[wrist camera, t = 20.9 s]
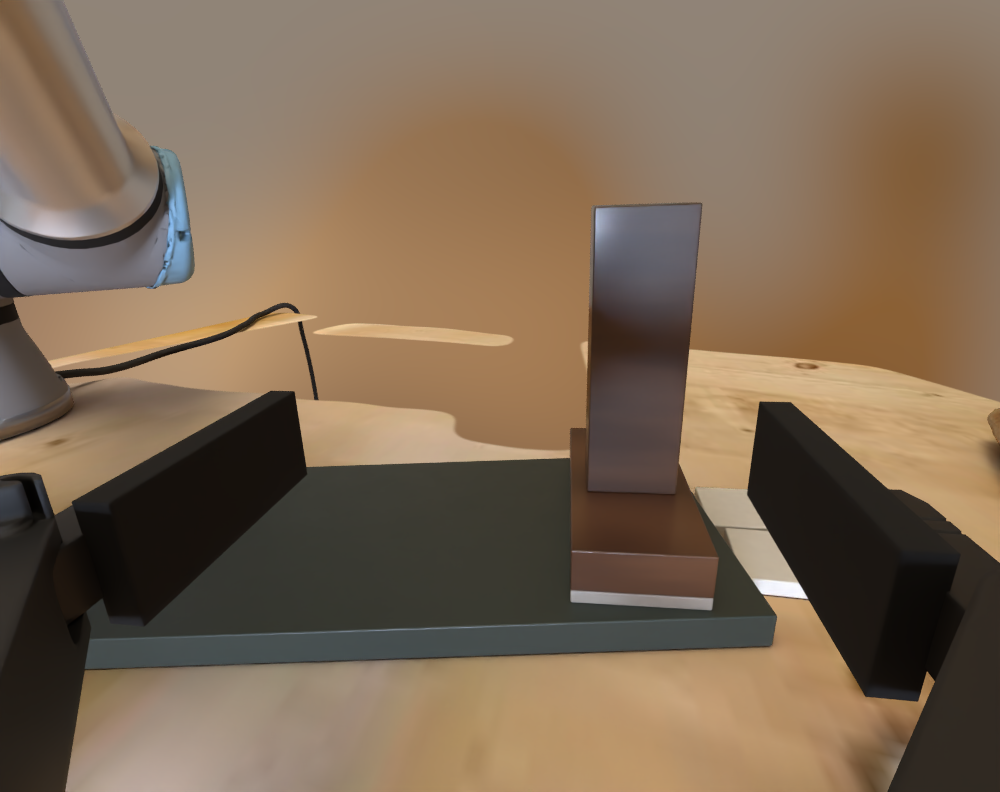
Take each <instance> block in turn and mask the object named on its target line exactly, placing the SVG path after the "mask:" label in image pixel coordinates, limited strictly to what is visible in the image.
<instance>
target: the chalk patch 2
mask: <svg viewBox="0 0 1000 792" xmlns="http://www.w3.org/2000/svg"><path fill="white" fill-rule="evenodd" d="M724 540H725V541H726V543H727V544H728V546H729V547H730V549H731V550H732V552H733V553H734V554H735V556H736V557H737V559H738V560H739V562H740V563H741V565H742V566H743V567H744V569H745V570H746V572H747V573H748V575H749V576H750V578H751V579H752V581H753V582H754V583H755V585H756V586H757V588H758V589H759V591H760V592H761V594H765V595H775V596H784V597H794V598H804V599H808V598H807V596H806V594H805V593H804V591H803V589H802V588H801V586H800V584H799V583H798V581H797V579H796V577H795V576H794V574H793V572H792V571H791V569H790V567H789V566H788V564H787V562H786V560H785V559H784V557H783V555H782V554H781V552H780V550H779V549H778V547H777V545H776V543H775V542H774V540H773V538H772V537H771V535H770V533H769V532H768V531H759V530H747V529H735V528H725V532H724Z"/></svg>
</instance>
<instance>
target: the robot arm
mask: <svg viewBox="0 0 1000 792" xmlns="http://www.w3.org/2000/svg"><path fill="white" fill-rule="evenodd" d="M194 266H195V264H194V252H193V243H192V237H191V233H190V220H189V212H188V206H187V199H186V193H185V187H184V181H183V176H182V171H181V166H180V162H179V160H178V158H177V156H176V154H175V153H174V152H172V151H171V150H168V149H160V148H159V147H157V146H149V144H148V142H147V141H146V140H145V139H144V137H143V136H142V135H141V134H140V133H139V132H138V131H137V130H136V129H135V128H134V127H133V126H132V125H130V124H129V123H128V122H127V121H125V120H124V119H122V118H121V117H119V116H118V115H116V114H114V113H112V111H111V108H110V106H109V104H108V102H107V99H106V97H105V95H104V93H103V90H102V88H101V86H100V83H99V81H98V79H97V76H96V74H95V72H94V70H93V67H92V65H91V63H90V61H89V58H88V56H87V54H86V51H85V49H84V47H83V45H82V42H81V40H80V38H79V35H78V33H77V31H76V29H75V26H74V24H73V22H72V19H71V17H70V15H69V13H68V10H67V8H66V6H65V4H64V1H63V0H0V440H3V439H6V438H9V437H12V436H15V435H18V434H21V433H24V432H27V431H30V430H32V429H35V428H37V427H40V426H42V425H45V424H47V423H49V422H51V421H53V420H55V419H57V418H59V417H61V416H62V415H64V414H65V413H67V412H68V411H69V410H70V409H71V408H72V407H73V405H74V400H73V397H72V394H71V391H70V388H69V386H68V385H67V383H66V381H65V380H64V379H65V378H73V377H82V376H96V375H104V374H110V373H114V372H118V371H122V370H125V369H129V368H132V367H135V366H138V365H141V364H144V363H147V362H149V361H152V360H155V359H158V358H161V357H164V356H167V355H170V354H173V353H177V352H180V351H184V350H187V349H191V348H194V347H198V346H202V345H206V344H209V343H212V342H215V341H218V340H221V339H224V338H226V337H229V336H231V335H233V334H235V333H237V332H239V331H240V330H242V329H244V328H245V327H247V326H249V325H250V324H252V323H253V322H254V321H255V320H256V319H258V318H260V317H263V316H265V315H267V314H269V313H271V312H273V311H275V310H278V309H280V308H285V307H286V308H290V309H291V310H293V311H294V313H295V314H300V312H299V311H298V309H297V308H296V307H295V306H293V305H291V304H289V303H280V304H277V305H275V306H272V307H270V308H268V309H267V310H264V311H262V312H259V313H257V314H255V315H253V316H251V317H250V318H249V319H248V320H247V321H245V322H243V323H241V324H239V325H238V326H236V327H234V328H232V329H230V330H228V331H225V332H223V333H220V334H217V335H214V336H211V337H207V338H204V339H200V340H196V341H193V342H189V343H185V344H181V345H177V346H174V347H170V348H167V349H164V350H160V351H157V352H154V353H151V354H149V355H146V356H143V357H140V358H137V359H134V360H131V361H128V362H124V363H120V364H116V365H112V366H107V367H101V368H88V369H75V370H65V371H56V372H55V371H54V370H53V368H52V367H51V365H50V364H49V362H48V361H47V359H46V358H45V357H44V355H43V354H42V352H41V351H40V350H39V348H38V347H37V346H36V344H35V343H34V342H33V340H32V339H31V338H30V337H29V335H28V334H27V333H26V331H25V330H24V328H23V326H22V324H21V322H20V318H19V316H18V313H17V310H16V307H15V304H14V300H13V297H24V296H33V295H46V294H60V293H72V292H86V291H99V290H112V289H126V288H139V287H146V288H150V289H154V288H157V287H159V286H161V285H169V284H176V283H182V282H185V281H187V280H188V279H190V278H191V276H192V275H193V273H194ZM298 326H299V331H300V335H301V339H302V343H303V346H304V350H305V355H306V359H307V363H308V368H309V373H310V377H311V383H312V389H313V394H314V400H319V399H318V393H317V387H316V382H315V376H314V371H313V366H312V362H311V357H310V353H309V349H308V345H307V341H306V337H305V333H304V329H303V324H302V321H299V322H298ZM306 475H307V469H306V462H305V456H304V449H303V443H302V437H301V430H300V424H299V418H298V411H297V405H296V398H295V392H293V391H270V392H268V393H266V394H264V395H262V396H261V397H259V398H257V399H255V400H254V401H252V402H250V403H248V404H246V405H245V406H243V407H241V408H239V409H237V410H236V411H234V412H232V413H230V414H228V415H227V416H225V417H223V418H221V419H219V420H218V421H216V422H214V423H212V424H210V425H209V426H207V427H205V428H203V429H201V430H200V431H198V432H196V433H194V434H192V435H191V436H189V437H187V438H185V439H184V440H182V441H180V442H178V443H176V444H175V445H173V446H171V447H169V448H167V449H166V450H164V451H162V452H160V453H158V454H157V455H155V456H153V457H151V458H149V459H148V460H146V461H144V462H142V463H140V464H139V465H137V466H135V467H133V468H131V469H130V470H128V471H126V472H124V473H122V474H121V475H119V476H117V477H115V478H114V479H112V480H110V481H108V482H106V483H105V484H103V485H101V486H99V487H97V488H96V489H94V490H92V491H90V492H88V493H87V494H85V495H83V496H81V497H79V498H78V499H76V500H74V501H72V504H73V505H72V506H70V507H68V508H67V509H65V510H63V511H61V512H60V513H58V514H56V515H54V513H53V510H52V507H51V504H50V501H49V498H48V495H47V492H46V489H45V486H44V483H43V480H42V477H41V475H39V474H36V473H16V474H9V475H3V476H0V792H65V789H66V783H67V776H68V770H69V764H70V758H71V752H72V745H73V739H74V733H75V727H76V720H77V714H78V708H79V702H80V695H81V689H82V683H83V677H84V670H85V664H86V658H87V652H88V646H89V639H90V633H91V624H90V621H89V618H88V615H87V612H86V611H87V610H88V609H90V608H91V607H92V606H93V605H95V604H96V603H97V602H98V601H100V600H101V599H103V602H104V605H105V608H106V611H107V614H108V617H109V620H110V623H111V624H121V625H132V626H142V627H145V626H146V625H147V624H148V623H149V622H150V621H151V620H152V619H153V618H154V617H155V616H156V615H158V614H159V613H160V612H161V611H162V610H163V609H164V608H165V607H166V606H167V605H168V604H169V603H170V602H171V601H172V600H174V599H175V598H176V597H177V596H178V595H179V594H180V593H181V592H182V591H183V590H184V589H185V588H186V587H187V586H189V585H190V584H191V583H192V582H193V581H194V580H195V579H196V578H197V577H198V576H199V575H200V574H201V573H202V572H204V571H205V570H206V569H207V568H208V567H209V566H210V565H211V564H212V563H213V562H214V561H215V560H216V559H217V558H219V557H220V556H221V555H222V554H223V553H224V552H225V551H226V550H227V549H228V548H229V547H230V546H231V545H232V544H234V543H235V542H236V541H237V540H238V539H239V538H240V537H241V536H242V535H243V534H244V533H245V532H246V531H247V530H248V529H250V528H251V527H252V526H253V525H254V524H255V523H256V522H257V521H258V520H259V519H260V518H261V517H262V516H263V515H265V514H266V513H267V512H268V511H269V510H270V509H271V508H272V507H273V506H274V505H275V504H276V503H277V502H278V501H280V500H281V499H282V498H283V497H284V496H285V495H286V494H287V493H288V492H289V491H290V490H291V489H292V488H293V487H295V486H296V485H297V484H298V483H299V482H300V481H301V480H302V479H303V478H304V477H305V476H306ZM747 496H748V498H749V499H750V501H751V503H752V504H753V506H754V508H755V510H756V511H757V513H758V515H759V516H760V518H761V520H762V521H763V523H764V525H765V527H766V528H767V530H768V532H769V533H770V535H771V537H772V538H773V540H774V542H775V543H776V545H777V547H778V549H779V550H780V552H781V554H782V555H783V557H784V559H785V560H786V562H787V564H788V566H789V567H790V569H791V571H792V572H793V574H794V576H795V577H796V579H797V581H798V583H799V584H800V586H801V588H802V589H803V591H804V593H805V594H806V596H807V598H808V599H809V601H810V603H811V605H812V606H813V608H814V610H815V611H816V613H817V615H818V616H819V618H820V620H821V622H822V623H823V625H824V627H825V628H826V630H827V632H828V633H829V635H830V637H831V639H832V640H833V642H834V644H835V645H836V647H837V649H838V650H839V652H840V654H841V655H842V657H843V659H844V661H845V662H846V664H847V666H848V667H849V669H850V671H851V672H852V674H853V676H854V678H855V679H856V681H857V683H858V684H859V686H860V688H861V689H862V691H863V693H864V695H865V696H866V697H876V698H886V699H896V700H907V701H917V702H918V700H919V696H920V693H921V689H922V686H923V683H924V679H925V676H926V672H927V671H928V673H929V674H930V675H931V677H932V678H933V679H934V681H935V683H934V685H933V687H932V690H931V692H930V694H929V697H928V699H927V701H926V704H925V706H924V708H923V711H922V713H921V715H920V718H919V720H918V722H917V724H916V727H915V729H914V731H913V734H912V736H911V738H910V741H909V743H908V745H907V748H906V750H905V752H904V755H903V757H902V759H901V761H900V764H899V766H898V768H897V771H896V773H895V775H894V778H893V780H892V782H891V785H890V787H889V789H888V792H1000V563H999V562H998V561H997V560H995V559H994V558H993V557H992V556H991V555H989V554H988V553H987V552H986V551H985V550H983V549H982V548H981V547H980V546H979V545H977V544H976V543H975V542H974V541H972V540H971V539H970V538H969V537H968V536H966V535H964V534H961V531H960V530H959V529H958V528H957V527H956V526H954V525H953V524H952V523H951V522H948V521H946V518H945V517H944V516H942V515H941V514H940V513H939V512H938V511H936V510H935V509H934V508H933V507H932V506H930V505H929V504H928V503H926V502H924V501H922V500H920V499H918V498H916V497H914V496H912V495H910V494H908V493H906V492H904V491H902V490H889V489H887V488H886V487H885V486H884V485H883V484H882V483H881V482H879V481H878V480H877V479H876V478H875V477H874V476H873V475H872V474H870V473H869V472H868V471H867V470H866V469H865V468H864V467H863V466H861V465H860V464H859V463H858V462H857V461H856V460H855V459H854V458H853V457H851V456H850V455H849V454H848V453H847V452H846V451H845V450H844V449H842V448H841V447H840V446H839V445H838V444H837V443H836V442H835V441H833V440H832V439H831V438H830V437H829V436H828V435H827V434H826V433H825V432H823V431H822V430H821V429H820V428H819V427H818V426H817V425H816V424H814V423H813V422H812V421H811V420H810V419H809V418H808V417H807V416H806V415H804V414H803V413H802V412H801V411H800V410H799V409H798V408H797V407H795V406H794V405H793V404H792V403H791V402H760V403H759V410H758V417H757V425H756V432H755V439H754V447H753V454H752V461H751V469H750V476H749V483H748V491H747Z"/></svg>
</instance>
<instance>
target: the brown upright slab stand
mask: <svg viewBox="0 0 1000 792" xmlns="http://www.w3.org/2000/svg"><path fill="white" fill-rule="evenodd" d="M701 214H702V203H661V204H660V203H659V204H629V205H599V206H592V210H591V250H590V289H589V329H588V369H587V409H586V428H571V429H570V601H571V602H576V603H593V604H610V605H627V606H644V607H661V608H678V609H695V610H712V607H713V598H714V592H715V584H716V577H717V569H718V561H719V557H718V555H717V552H716V550H715V548H714V545H713V543H712V540H711V538H710V536H709V533H708V531H707V529H706V526H705V524H704V522H703V519H702V517H701V514H700V512H699V510H698V507H697V505H696V503H695V500H694V498H693V495H692V493H691V491H690V488H689V486H688V484H687V481H686V479H685V477H684V474H683V472H682V469H681V467H680V465H679V454H680V443H681V432H682V421H683V410H684V399H685V388H686V377H687V366H688V355H689V344H690V333H691V323H692V312H693V300H694V289H695V279H696V268H697V256H698V246H699V235H700V223H701Z"/></svg>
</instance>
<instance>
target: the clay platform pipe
mask: <svg viewBox="0 0 1000 792" xmlns="http://www.w3.org/2000/svg"><path fill="white" fill-rule="evenodd" d="M988 423H989V425H990V427H991V429H992V433H993V435H994V436H995V438H996V440H997V442H998V443H999V445H1000V408H999V409H995V410H994V411H993V412H992V413H990V414H989V416H988Z"/></svg>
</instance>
